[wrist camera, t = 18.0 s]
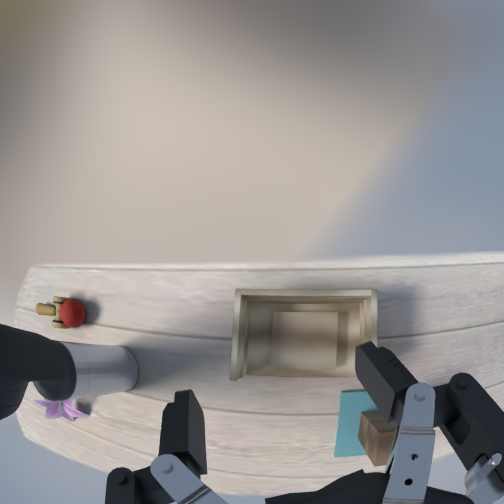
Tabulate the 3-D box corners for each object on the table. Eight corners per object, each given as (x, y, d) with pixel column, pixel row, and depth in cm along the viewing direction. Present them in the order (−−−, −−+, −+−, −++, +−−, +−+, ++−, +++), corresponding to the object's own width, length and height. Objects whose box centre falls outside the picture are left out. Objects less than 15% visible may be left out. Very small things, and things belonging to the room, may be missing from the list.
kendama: (47, 328, 54) (86, 336, 49) (28, 320, 49) (64, 327, 44) (53, 300, 58) (93, 302, 52) (35, 291, 52) (72, 291, 47)
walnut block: (385, 435, 34) (409, 460, 23) (357, 438, 35) (374, 466, 24) (389, 409, 36) (415, 427, 25) (360, 412, 37) (380, 433, 26)
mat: (399, 448, 34) (401, 450, 33) (334, 454, 36) (334, 456, 35) (407, 386, 37) (409, 387, 36) (341, 391, 40) (342, 392, 39)
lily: (58, 412, 46) (44, 433, 37) (41, 371, 45) (23, 389, 36) (98, 415, 49) (87, 438, 39) (81, 372, 48) (66, 392, 38)
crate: (361, 375, 40) (375, 382, 31) (242, 373, 43) (229, 380, 35) (363, 299, 44) (376, 289, 35) (247, 298, 47) (235, 288, 39)
